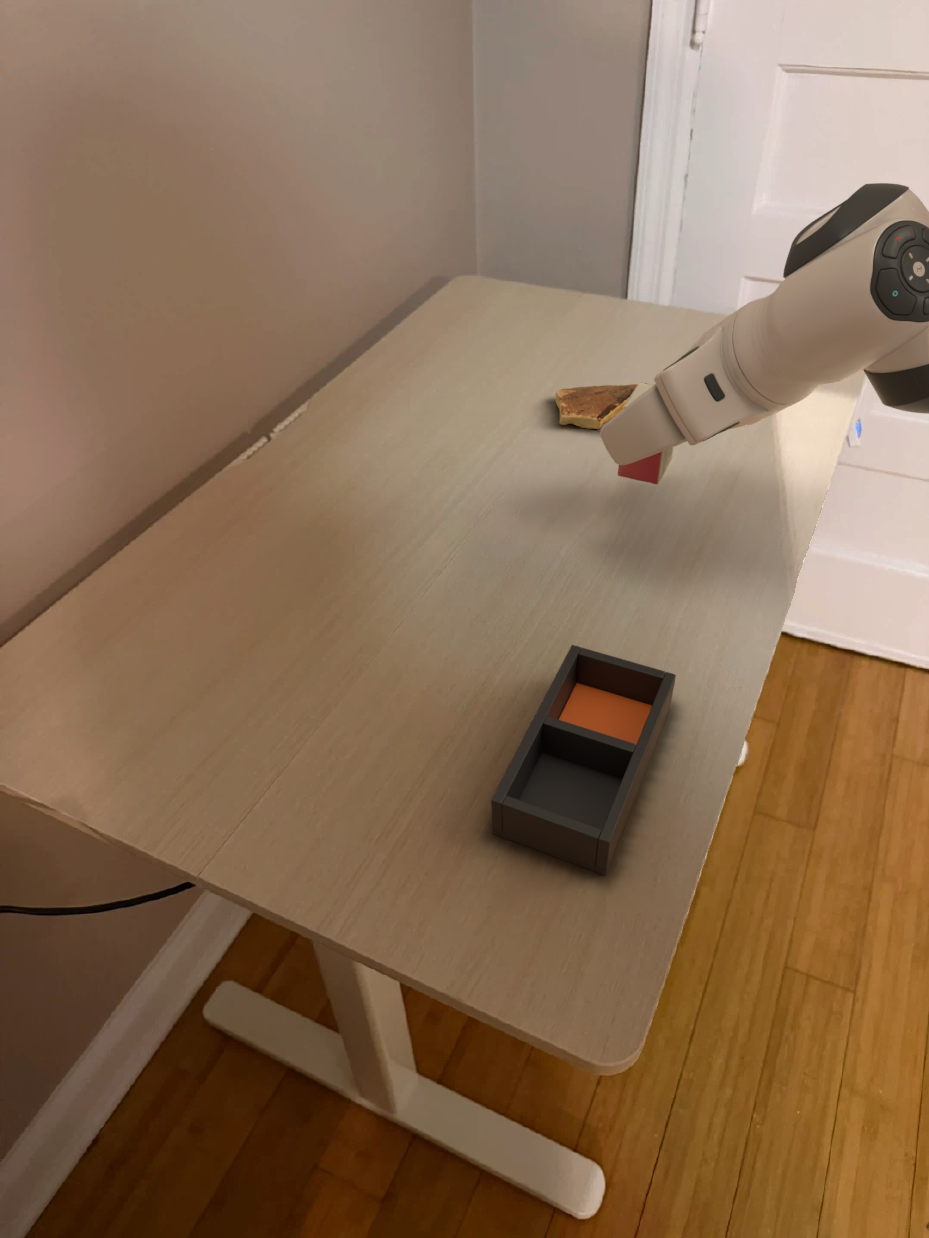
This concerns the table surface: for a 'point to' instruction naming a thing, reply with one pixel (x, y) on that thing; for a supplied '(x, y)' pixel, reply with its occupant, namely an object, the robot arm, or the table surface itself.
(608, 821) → the holder
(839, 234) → the robot arm
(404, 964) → the table surface
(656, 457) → the small box
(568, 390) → the shard
